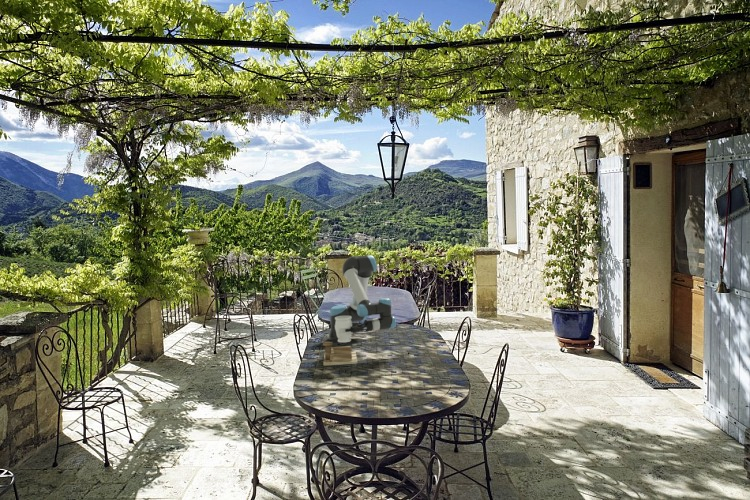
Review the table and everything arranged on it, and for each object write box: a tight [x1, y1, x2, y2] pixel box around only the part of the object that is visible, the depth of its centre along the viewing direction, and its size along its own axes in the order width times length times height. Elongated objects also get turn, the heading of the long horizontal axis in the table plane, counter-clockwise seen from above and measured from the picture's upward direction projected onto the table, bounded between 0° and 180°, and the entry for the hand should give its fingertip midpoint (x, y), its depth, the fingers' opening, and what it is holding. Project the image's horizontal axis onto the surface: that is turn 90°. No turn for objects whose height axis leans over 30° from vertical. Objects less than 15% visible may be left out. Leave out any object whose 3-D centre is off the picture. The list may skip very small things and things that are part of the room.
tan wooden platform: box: [322, 341, 358, 367], centre depth 324 cm, size 22×20×12 cm
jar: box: [335, 315, 353, 343], centre depth 324 cm, size 11×10×15 cm
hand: (337, 329), depth 323 cm, fingers closed on jar, 10 cm apart
